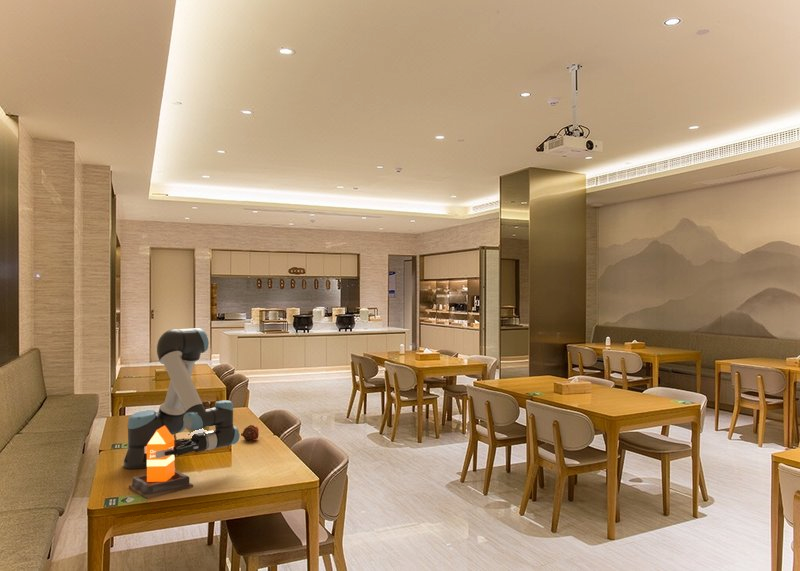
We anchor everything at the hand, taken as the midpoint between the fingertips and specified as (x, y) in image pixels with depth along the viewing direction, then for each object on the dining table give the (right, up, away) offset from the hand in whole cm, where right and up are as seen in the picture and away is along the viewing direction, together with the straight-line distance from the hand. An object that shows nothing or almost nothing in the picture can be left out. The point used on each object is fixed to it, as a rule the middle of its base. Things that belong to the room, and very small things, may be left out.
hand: (150, 452), depth 225 cm
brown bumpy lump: (+19, -16, +77) cm, 81 cm away
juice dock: (+3, -15, +3) cm, 15 cm away
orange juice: (+3, -11, +3) cm, 12 cm away
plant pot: (-6, -16, +72) cm, 74 cm away
